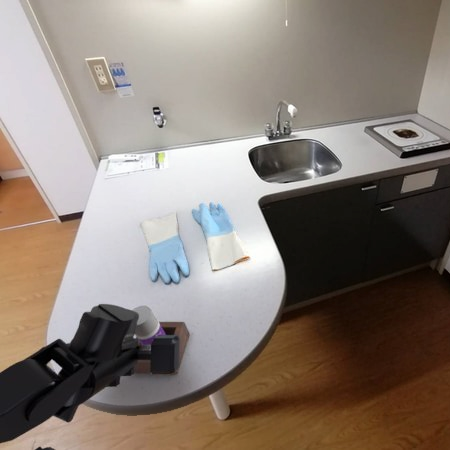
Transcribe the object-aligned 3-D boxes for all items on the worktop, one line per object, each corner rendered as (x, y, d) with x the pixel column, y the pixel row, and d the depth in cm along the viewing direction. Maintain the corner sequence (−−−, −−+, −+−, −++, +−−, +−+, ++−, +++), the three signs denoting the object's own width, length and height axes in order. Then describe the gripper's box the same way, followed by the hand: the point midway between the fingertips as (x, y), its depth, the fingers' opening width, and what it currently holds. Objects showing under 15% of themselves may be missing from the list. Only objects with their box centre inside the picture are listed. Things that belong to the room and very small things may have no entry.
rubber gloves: (153, 294, 81) (145, 278, 77) (141, 223, 103) (134, 208, 99) (250, 259, 91) (248, 243, 86) (220, 201, 113) (217, 187, 109)
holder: (177, 373, 65) (170, 362, 62) (133, 373, 65) (124, 362, 62) (189, 333, 72) (184, 321, 69) (150, 333, 73) (143, 321, 69)
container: (169, 363, 67) (146, 326, 57) (148, 363, 67) (121, 325, 57) (176, 343, 71) (155, 305, 61) (156, 342, 71) (132, 304, 61)
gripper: (159, 317, 48) (194, 300, 63) (41, 317, 48) (105, 301, 63) (157, 391, 47) (193, 356, 62) (35, 391, 47) (102, 356, 62)
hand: (148, 340), depth 63 cm, fingers open, 9 cm apart
